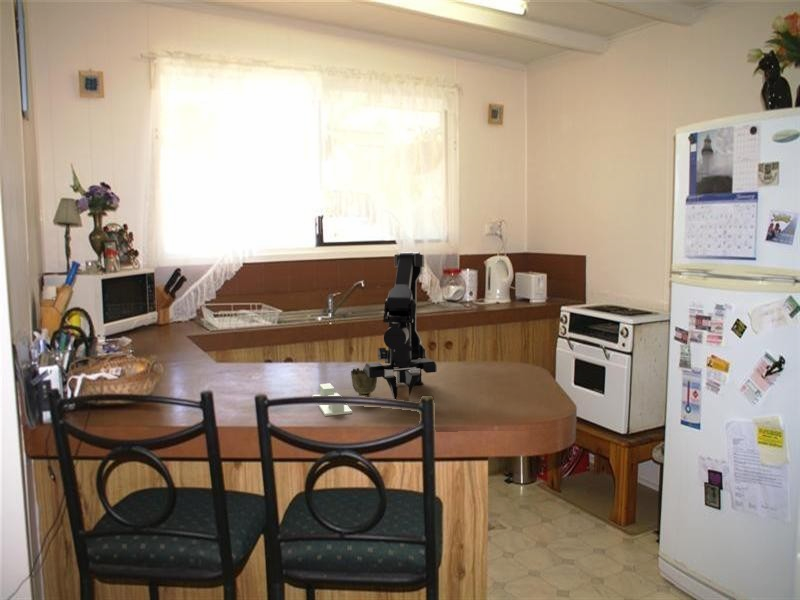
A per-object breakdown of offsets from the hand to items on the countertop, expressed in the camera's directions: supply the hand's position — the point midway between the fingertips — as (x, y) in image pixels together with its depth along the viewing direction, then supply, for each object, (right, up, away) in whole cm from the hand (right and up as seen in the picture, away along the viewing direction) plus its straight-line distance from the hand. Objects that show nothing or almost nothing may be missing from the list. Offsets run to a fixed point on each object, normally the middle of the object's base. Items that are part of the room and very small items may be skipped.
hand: (400, 398), depth 170 cm
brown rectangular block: (0, -1, 0) cm, 1 cm away
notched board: (-19, -2, -1) cm, 19 cm away
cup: (-10, -1, +5) cm, 11 cm away
